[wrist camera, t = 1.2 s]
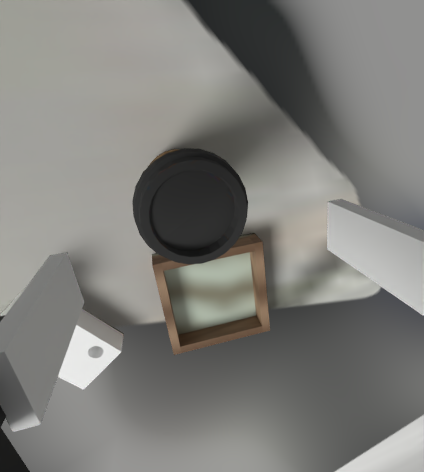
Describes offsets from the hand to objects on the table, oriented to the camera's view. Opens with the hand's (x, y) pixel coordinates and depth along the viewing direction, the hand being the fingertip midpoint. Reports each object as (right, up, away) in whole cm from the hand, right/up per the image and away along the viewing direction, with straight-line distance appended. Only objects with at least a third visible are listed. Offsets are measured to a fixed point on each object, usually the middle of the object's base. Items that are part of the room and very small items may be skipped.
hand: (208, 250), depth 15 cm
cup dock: (0, -6, +25) cm, 25 cm away
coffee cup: (-4, +7, +19) cm, 21 cm away
